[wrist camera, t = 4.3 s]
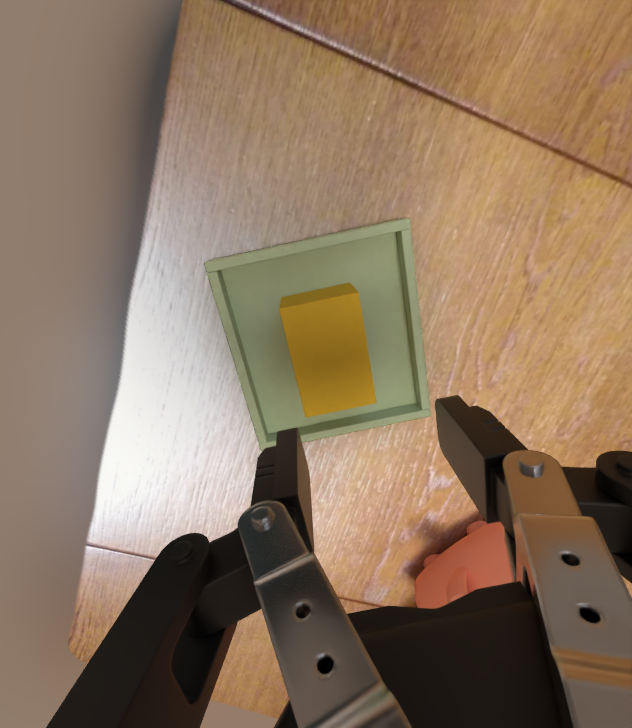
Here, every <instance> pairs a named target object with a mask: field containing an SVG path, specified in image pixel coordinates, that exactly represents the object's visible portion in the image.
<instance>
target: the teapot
mask: <svg viewBox="0 0 632 728" xmlns="http://www.w3.org/2000/svg"><path fill="white" fill-rule="evenodd" d="M423 566H424V568H425V569H424V570H423V571H422V572H421V573H420V574H419V576H418V577H417V578H416V581H415V600H416V604H417V607H418V608H429V609H436V608H440V607H442V606H444V605H446V604H448V603H450V602H452V601H454V600H456V599H458V598H460V597H462V596H464V595H466V594H468V593H470V592H472V591H474V590H476V589H480V588H485V587H490V586H496V585H501V584H506V583H511V582H512V578H511V572H510V567H509V561H508V556H507V550H506V545H505V539H504V526H503V525H502V523H500V522H495V523H489V524H487V523H486V521H475V522H473V523H472V524H470V525H469V527H468V528H467V536H465V537H464V538H462V539H461V540H459V541H458V542H456V543H455V544H453V545H452V546H450V547H449V548H448V549H447V550H445V551H444V552H443V553H442V554H433V555H430V556H428V557H427V558H426V559H425V560H424V563H423Z"/></svg>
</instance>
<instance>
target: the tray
mask: <svg viewBox="0 0 632 728" xmlns="http://www.w3.org/2000/svg"><path fill="white" fill-rule="evenodd" d="M410 228H411V226H410V218H400V219H395V220H391V221H386V222H381V223H377V224H372V225H368V226H363V227H359V228H354V229H350V230H345V231H340V232H336V233H331V234H327V235H322V236H318V237H313V238H308V239H304V240H299V241H295V242H290V243H286V244H281V245H276V246H272V247H267V248H263V249H258V250H254V251H249V252H245V253H240V254H235V255H231V256H226V257H222V258H217V259H213V260H209V261H207V262H205V263H204V265H205V268H206V272H207V275H208V278H209V281H210V284H211V288H212V291H213V294H214V298H215V301H216V304H217V307H218V311H219V314H220V317H221V321H222V324H223V327H224V331H225V334H226V337H227V340H228V344H229V347H230V350H231V354H232V357H233V360H234V363H235V367H236V370H237V373H238V377H239V380H240V383H241V387H242V390H243V393H244V396H245V400H246V403H247V406H248V410H249V413H250V416H251V420H252V423H253V426H254V429H255V433H256V436H257V439H258V443H259V446H260V449H261V451H263V450H264V449H265V448H267V447H272V446H276V439H277V431H281V430H286V429H291V428H296V427H298V430H299V433H300V437H301V441H302V442H307V441H312V440H317V439H322V438H327V437H331V436H336V435H341V434H346V433H351V432H356V431H361V430H365V429H370V428H375V427H380V426H385V425H390V424H394V423H399V422H404V421H409V420H414V419H419V418H424V417H428V416H431V411H430V402H429V393H428V384H427V374H426V365H425V356H424V347H423V338H422V328H421V319H420V310H419V301H418V291H417V282H416V273H415V264H414V255H413V245H412V236H411V229H410ZM345 283H351V284H352V285H353V287H354V288H355V289H356V290H357V291H358V292H359V297H360V303H361V309H362V315H363V321H364V328H365V334H366V340H367V346H368V352H369V358H370V364H371V370H372V376H373V382H374V388H375V395H376V401H377V403H375V404H370V405H366V406H361V407H356V408H351V409H346V410H341V411H337V412H332V413H327V414H322V415H317V416H312V417H308V418H306V417H305V414H304V410H303V406H302V401H301V397H300V393H299V389H298V385H297V381H296V377H295V373H294V369H293V365H292V361H291V356H290V352H289V348H288V344H287V340H286V336H285V332H284V328H283V324H282V320H281V315H280V311H279V308H280V302H281V297H285V296H289V295H294V294H299V293H303V292H308V291H313V290H317V289H322V288H326V287H331V286H336V285H340V284H345Z"/></svg>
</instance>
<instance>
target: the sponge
mask: <svg viewBox="0 0 632 728" xmlns="http://www.w3.org/2000/svg"><path fill="white" fill-rule="evenodd" d="M279 311H280V315H281V320H282V324H283V328H284V332H285V336H286V340H287V344H288V348H289V352H290V356H291V361H292V365H293V369H294V373H295V377H296V381H297V385H298V389H299V393H300V397H301V401H302V406H303V410H304V414H305V417H306V418H308V417H312V416H317V415H322V414H327V413H332V412H337V411H341V410H346V409H351V408H356V407H361V406H366V405H370V404H375V403H377V401H376V395H375V388H374V382H373V376H372V370H371V364H370V358H369V352H368V346H367V340H366V334H365V328H364V321H363V315H362V309H361V303H360V297H359V292H358V291H357V290H356V289H355V288H354V287H353V285H352V284H351V283H345V284H340V285H336V286H331V287H326V288H322V289H317V290H313V291H308V292H303V293H299V294H294V295H289V296H285V297H281V302H280V308H279Z"/></svg>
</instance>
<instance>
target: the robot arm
mask: <svg viewBox="0 0 632 728" xmlns="http://www.w3.org/2000/svg"><path fill="white" fill-rule="evenodd" d="M435 409H436V419H437V430H438V439H439V444H440V447H441V450H442V452H443V454H444V456H445V458H446V459H447V461H448V462H449V464H450V466H451V467H452V469H453V470H454V472H455V473H456V475H457V477H458V478H459V480H460V481H461V483H462V485H463V486H464V488H465V489H466V491H467V493H468V494H469V496H470V497H471V499H472V500H473V502H474V504H475V505H476V507H477V508H478V510H479V512H480V513H481V515H482V516H483V518H484V519H485V521H486V523H487V524H489V523H495V522H501V523H502V525H503V526H504V539H505V545H506V550H507V556H508V561H509V567H510V572H511V578H512V582H511V583H506V584H501V585H496V586H490V587H485V588H480V589H476V590H474V591H472V592H470V593H468V594H466V595H464V596H462V597H460V598H458V599H456V600H454V601H452V602H450V603H448V604H446V605H444V606H442V607H440V608H436V609H429V608H413V607H398V606H386V607H381V608H375V609H370V610H365V611H360V612H354V613H349V614H347V613H346V611H345V610H344V608H343V606H342V604H341V602H340V600H339V598H338V597H337V595H336V593H335V591H334V589H333V587H332V585H331V583H330V582H329V580H328V578H327V576H326V574H325V572H324V570H323V569H322V567H321V565H320V563H319V561H318V559H317V557H316V556H315V554H314V539H313V522H312V506H311V489H310V476H309V470H308V465H307V461H306V457H305V453H304V449H303V445H302V441H301V437H300V433H299V430H298V427H296V428H291V429H286V430H281V431H277V439H276V446H272V447H267V448H265V449H264V450H263V451H262V453H261V454H260V456H259V457H258V461H257V467H256V468H257V470H256V474H255V481H254V487H253V494H252V500H251V507H249V508H248V509H247V510H246V511H245V512H244V513H243V514H242V515H241V517H240V519H239V521H238V528H237V529H235V530H234V531H232V532H231V533H229V534H227V535H225V536H223V537H220V538H218V539H216V540H214V541H212V542H210V543H209V541H208V539H207V537H206V536H204V535H203V534H199V533H190V534H186V535H183V536H181V537H178V538H177V539H175V540H173V541H172V542H170V543H169V544H168V545H167V546H166V547H165V548H164V549H163V550H162V551H161V553H160V554H159V555H158V557H157V558H156V560H155V561H154V563H153V565H152V566H151V568H150V569H149V571H148V572H147V574H146V575H145V577H144V578H143V580H142V581H141V583H140V584H139V586H138V588H137V589H136V591H135V592H134V594H133V595H132V597H131V598H130V600H129V601H128V603H127V604H126V606H125V608H124V609H123V611H122V612H121V614H120V615H119V617H118V618H117V620H116V621H115V623H114V624H113V626H112V627H111V629H110V631H109V632H108V634H107V635H106V637H105V638H104V640H103V641H102V643H101V644H100V646H99V647H98V649H97V650H96V652H95V654H94V655H93V657H92V658H91V660H90V661H89V663H88V664H87V666H86V667H85V669H84V670H83V672H82V673H81V675H80V677H79V678H78V680H77V681H76V683H75V685H74V686H73V687H72V689H71V690H70V692H69V693H68V695H67V696H66V698H65V700H64V701H63V703H62V704H61V706H60V707H59V709H58V710H57V712H56V713H55V715H54V716H53V718H52V720H51V721H50V723H49V724H48V726H47V727H46V728H200V725H201V723H202V720H203V717H204V714H205V711H206V709H207V706H208V703H209V701H210V698H211V695H212V692H213V690H214V687H215V684H216V681H217V679H218V676H219V673H220V670H221V668H222V665H223V662H224V659H225V657H226V654H227V651H228V648H229V645H230V643H231V640H232V637H233V634H234V632H235V629H236V626H237V622H238V621H239V620H241V619H243V618H245V617H247V616H249V615H250V614H252V613H254V612H256V611H258V610H260V609H262V611H263V615H264V618H265V621H266V624H267V628H268V631H269V634H270V637H271V641H272V644H273V647H274V650H275V654H276V657H277V660H278V663H279V667H280V670H281V673H282V676H283V680H284V683H285V686H286V689H287V693H288V696H289V701H288V703H287V704H286V706H285V708H284V710H283V712H282V714H281V715H280V717H279V719H278V721H277V723H276V725H275V727H274V728H632V598H631V595H630V593H629V591H628V589H627V587H626V585H625V583H624V580H623V578H622V576H623V577H624V578H626V579H627V580H628V581H630V582H631V583H632V452H629V451H610V452H606V453H603V454H601V455H600V456H599V457H598V458H597V461H596V468H579V467H562V466H561V465H560V464H559V462H558V461H557V460H556V459H554V458H553V457H551V456H550V455H547V454H545V453H542V452H539V451H533V450H528V449H527V448H526V447H525V446H524V445H523V444H522V443H521V442H520V441H519V440H518V439H517V438H516V437H515V436H514V435H513V434H512V433H511V432H510V431H509V430H508V429H507V428H506V429H505V426H504V425H503V424H502V423H501V422H498V419H497V418H496V417H495V416H494V415H493V414H492V413H491V412H489V411H487V410H485V409H483V408H481V407H478V406H472V407H469V406H468V405H467V404H466V403H465V402H464V401H463V400H462V399H461V398H460V397H459V396H458V395H455V396H450V397H445V398H440V399H436V401H435ZM621 575H622V576H621Z"/></svg>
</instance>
